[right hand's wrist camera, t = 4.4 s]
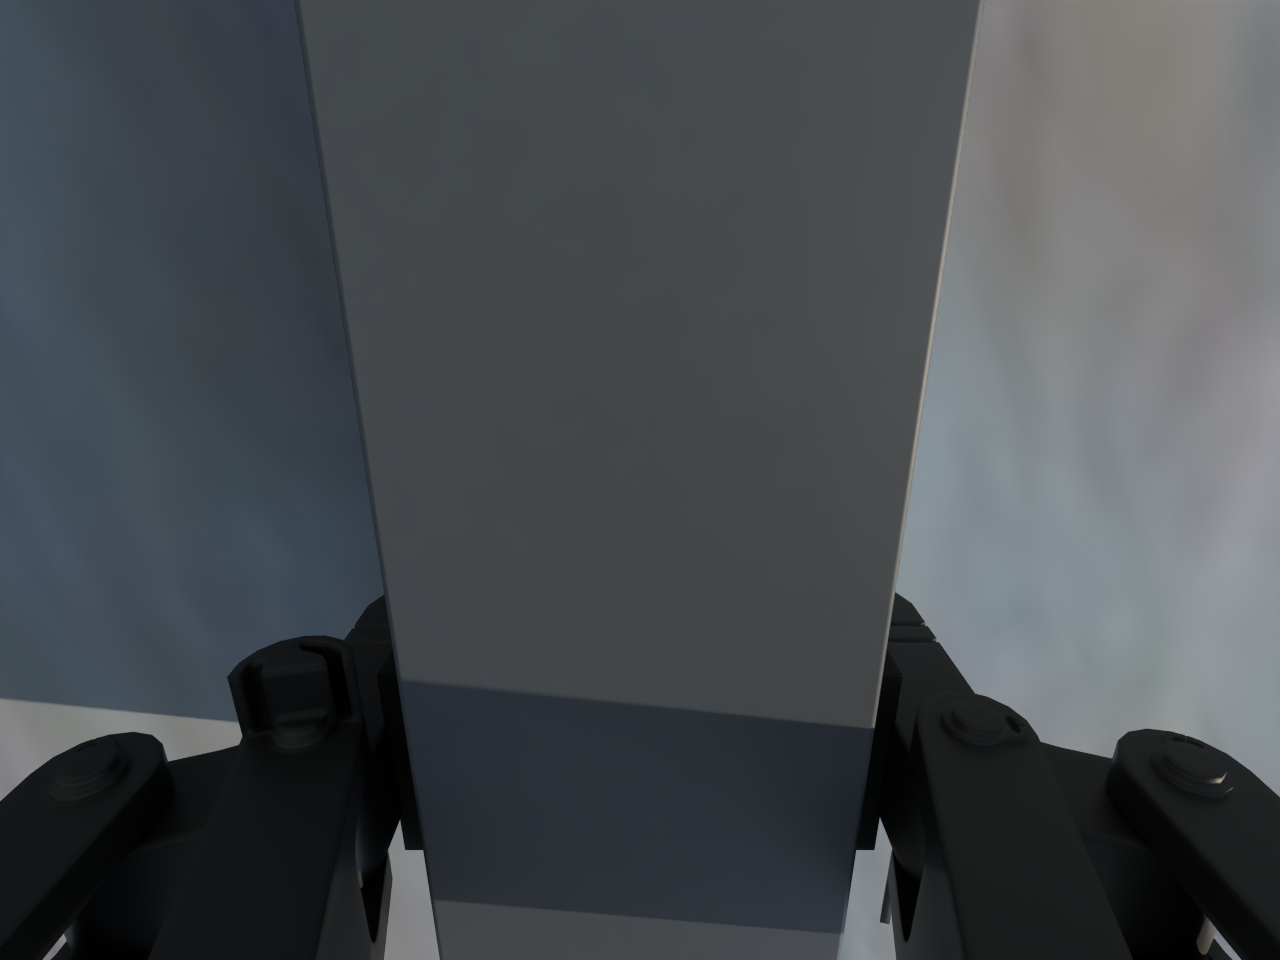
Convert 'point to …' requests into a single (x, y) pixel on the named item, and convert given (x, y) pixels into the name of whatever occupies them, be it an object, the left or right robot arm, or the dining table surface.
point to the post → (639, 437)
